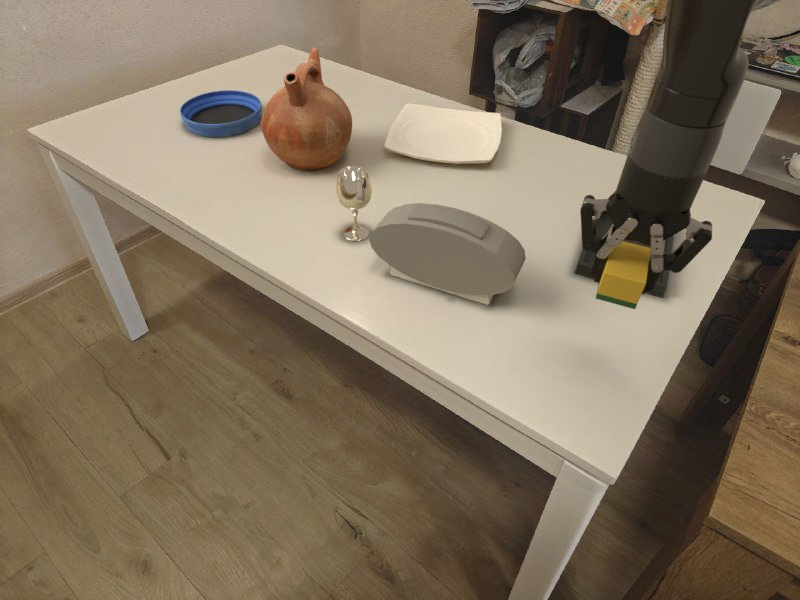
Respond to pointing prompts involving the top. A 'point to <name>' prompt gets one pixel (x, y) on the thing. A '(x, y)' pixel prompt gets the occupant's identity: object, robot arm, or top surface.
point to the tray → (604, 226)
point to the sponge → (624, 275)
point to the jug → (307, 120)
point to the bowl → (221, 113)
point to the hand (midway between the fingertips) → (619, 283)
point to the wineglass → (354, 197)
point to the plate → (445, 134)
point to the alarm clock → (448, 250)
